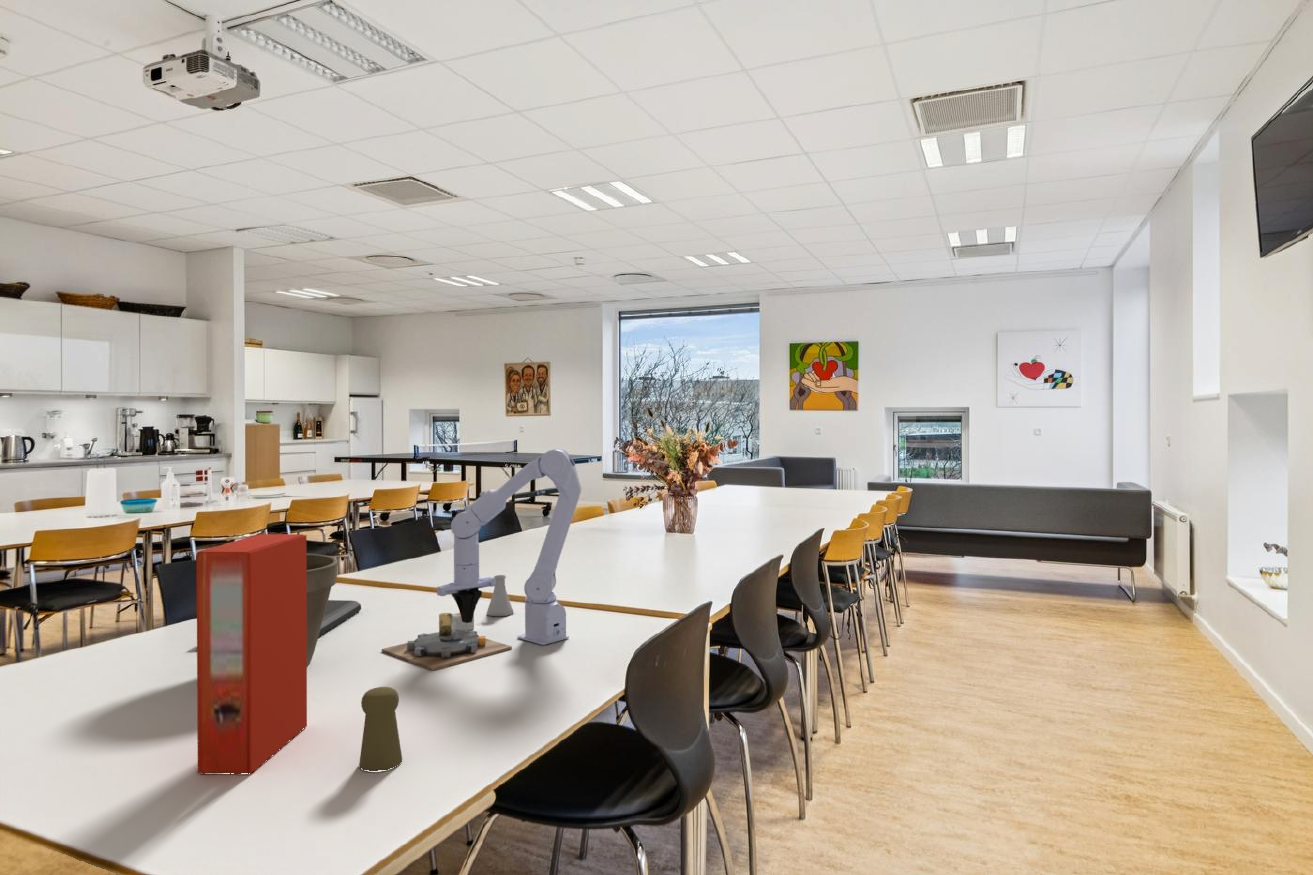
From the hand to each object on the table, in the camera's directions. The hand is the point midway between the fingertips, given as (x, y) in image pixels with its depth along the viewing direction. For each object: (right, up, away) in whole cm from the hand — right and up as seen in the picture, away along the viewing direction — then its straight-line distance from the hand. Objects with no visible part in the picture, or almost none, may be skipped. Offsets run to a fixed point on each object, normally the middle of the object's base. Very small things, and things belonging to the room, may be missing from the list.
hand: (467, 621), depth 181 cm
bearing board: (-2, -4, -9) cm, 10 cm away
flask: (+3, -4, +24) cm, 24 cm away
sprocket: (-2, -4, -9) cm, 10 cm away
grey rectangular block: (-3, -4, +8) cm, 9 cm away
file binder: (-18, -5, -61) cm, 64 cm away
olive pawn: (+3, -6, -66) cm, 67 cm away
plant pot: (-35, -5, -20) cm, 41 cm away
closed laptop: (-47, -5, +10) cm, 48 cm away
